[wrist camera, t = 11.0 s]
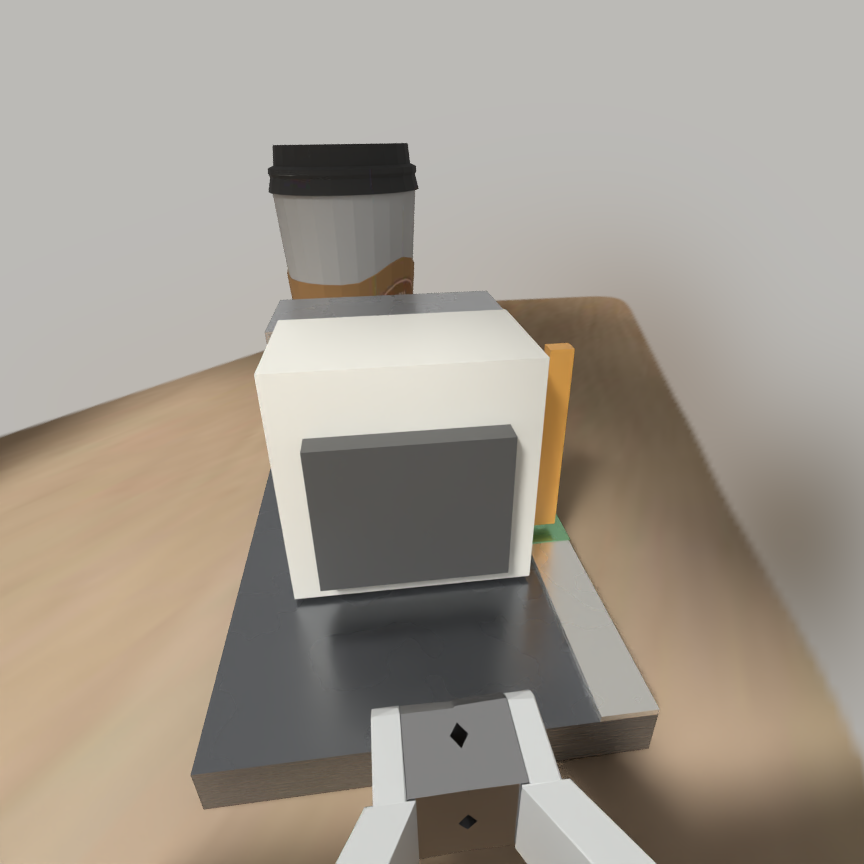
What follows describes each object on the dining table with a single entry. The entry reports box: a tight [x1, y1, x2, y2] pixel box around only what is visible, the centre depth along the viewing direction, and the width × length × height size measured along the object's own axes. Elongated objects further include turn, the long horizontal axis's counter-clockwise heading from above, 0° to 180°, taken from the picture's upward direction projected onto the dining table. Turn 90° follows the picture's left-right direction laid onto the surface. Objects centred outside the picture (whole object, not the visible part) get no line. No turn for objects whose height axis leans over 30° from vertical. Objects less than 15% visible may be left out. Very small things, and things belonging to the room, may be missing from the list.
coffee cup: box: [268, 143, 418, 299], centre depth 33 cm, size 8×8×15 cm
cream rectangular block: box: [254, 309, 575, 599], centre depth 18 cm, size 6×10×8 cm, turn 97°
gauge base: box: [191, 291, 660, 809], centre depth 20 cm, size 18×12×8 cm, turn 7°
